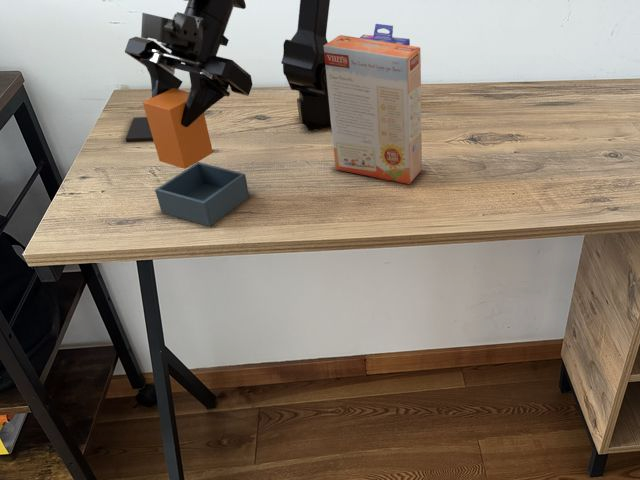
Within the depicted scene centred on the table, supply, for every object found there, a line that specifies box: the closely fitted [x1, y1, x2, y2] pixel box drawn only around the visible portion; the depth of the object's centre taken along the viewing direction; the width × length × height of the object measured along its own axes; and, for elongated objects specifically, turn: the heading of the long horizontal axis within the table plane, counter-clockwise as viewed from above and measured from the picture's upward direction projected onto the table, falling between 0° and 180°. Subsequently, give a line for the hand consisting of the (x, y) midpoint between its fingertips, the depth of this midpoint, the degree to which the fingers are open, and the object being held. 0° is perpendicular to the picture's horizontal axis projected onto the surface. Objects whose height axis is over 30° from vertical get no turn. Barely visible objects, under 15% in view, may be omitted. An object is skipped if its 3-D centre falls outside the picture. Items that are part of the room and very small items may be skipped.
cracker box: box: [324, 34, 423, 185], centre depth 111 cm, size 14×6×21 cm, turn 71°
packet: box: [142, 88, 214, 170], centre depth 100 cm, size 6×5×9 cm
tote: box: [154, 161, 250, 227], centre depth 106 cm, size 10×9×4 cm
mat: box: [125, 116, 154, 143], centre depth 126 cm, size 11×9×1 cm
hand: (169, 121), depth 98 cm, fingers closed on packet, 5 cm apart
